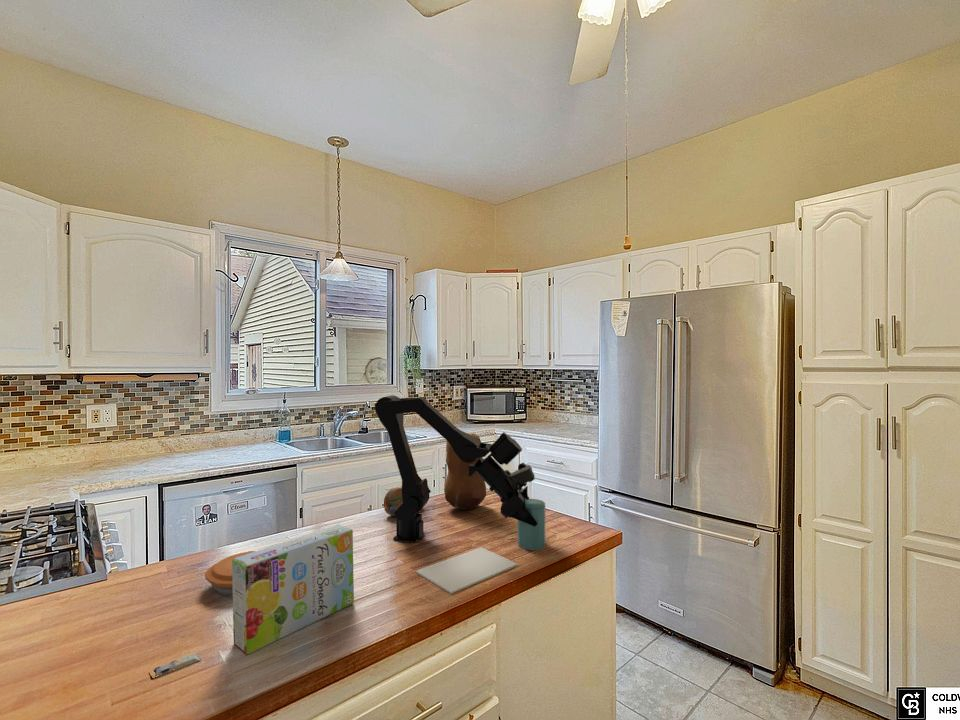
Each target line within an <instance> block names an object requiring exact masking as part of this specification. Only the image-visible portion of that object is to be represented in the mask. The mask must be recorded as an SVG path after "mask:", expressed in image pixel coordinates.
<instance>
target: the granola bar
mask: <svg viewBox="0 0 960 720" xmlns="http://www.w3.org/2000/svg"><path fill="white" fill-rule="evenodd" d="M197 661H198V662H199V661H201V657H200V656H199V655H198V653H191V654H188V655H185V656H183V657H180V658H178V659H175V660H173V661H171V662H168V663H165V664H163V665H159V666H157V667H155V668H154V669H152V670H153V671H154V672H155V676H157V675H161V674H164V673H166V674H168V673H167V672H169V671H171V672H173V671H172V670H173V669H176V670H178V669H177V668H179V667H181V668H183V667H182V666H184V667H186V666H188V664H189V665H191V663H192V664H194V663H195V662H196V663H197ZM185 665H186V666H185ZM179 669H180V668H179ZM169 673H170V672H169ZM164 675H165V674H164ZM161 676H162V675H161Z"/></svg>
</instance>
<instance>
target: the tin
mask: <svg viewBox="0 0 960 720" xmlns="http://www.w3.org/2000/svg"><path fill="white" fill-rule="evenodd" d="M402 504H403V502H402V485H400V486H398V487H394V488H392V489H390V490H389V491H387V493H386V494H385V496H384V499H383V508H384V511H385V512H386V514H387V515H389V516H393V517H395V514H394V512H395V511H396V510H397V509H398V508H399V507H400V506H401V505H402Z"/></svg>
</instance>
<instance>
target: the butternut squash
mask: <svg viewBox="0 0 960 720" xmlns="http://www.w3.org/2000/svg"><path fill="white" fill-rule="evenodd" d="M467 433H468V434H469V435H471V436H473V437H474V438H476V439H477V440H479V442H481V443H482V441H481V438H480V436H479V435H478V434H477V433H475V432H467ZM445 446H446V447H445V454H446V456H445V462H446V466H447V471H448V472H447V475H446V478H445V482H444V488H443V491H444V499H445V501H446V502H447V503H448V504H449V505H451V507H453V508H456V509H459V510H460V509H461V510H463V511H470V510H471V511H472V510H474V509H475V508H477V507H478V506H479V505H480V504H481V503H482V502H483V501H484V500H485V499H486V497H487V486H486V482H485V481H484V480H483V479H482V478H481V477H480V476H479V475H478V474H477V473H476V472H475V473H474V474H473V475H472V476H469V468H468V466H469V465H470V464H475V463H476V462H477V461H478V460H479V459H480V458H477V459H476V460H475V461H474V462H471V463H465V462H463V461H462V460H461V459H460V458H459V457H458V456H457V455H456V453H455V452H454V451H453V449H452V447H451V446H450V444H449V443H448V441H447V440H446V444H445ZM481 458H483V457H481Z"/></svg>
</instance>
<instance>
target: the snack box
mask: <svg viewBox="0 0 960 720" xmlns="http://www.w3.org/2000/svg"><path fill="white" fill-rule="evenodd" d="M353 532H354V530H353V529H351V528H348V527H346V526H343V525H340V524H336V525H333V526H329V527H326V528H323V529H321V530H317V531H314V532H311V533H309V534H305V535H302V536H298V537H296V538H293V539H290V540H287V541H283V542H279V543H278V544H277V543H276V544H274V545H270V546H268V547H264V548H261V549H259V550H254V551H255V552H252V553H249V554H246V555H243V556H240V557H236V558H234V559H232V579H233V596H232V621H233V622H232V627H233V631H232V632H233V633H232V634H233V644H234V645H235V646H236V647H238V649H240V650H241V651H242V652H243V653H244V654H246V655H249V654H252V653H253V652H255V651H258V650H260V649H263V648H264V647H266V646H268V645H270V644H272V643H274V642H276V641H279V640H280V639H282V638H284V637H286V636H288V635H291V634H292V633H295V632H297V631H299V630H301V629H303V628H305V627H307V626H309V625H311V624H313V623H315V622H318V621H319V620H321V619H324V618H326V617H328V616H330V615H331V614H334V613H336V612H339V611H340V610H343V609H345V608H346V607H349V606H351V605H353V604H354V603H355V593H354V592H355V589H354V588H355V587H354V585H355V584H354V538H353V537H354V536H353V535H354V534H353Z"/></svg>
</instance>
